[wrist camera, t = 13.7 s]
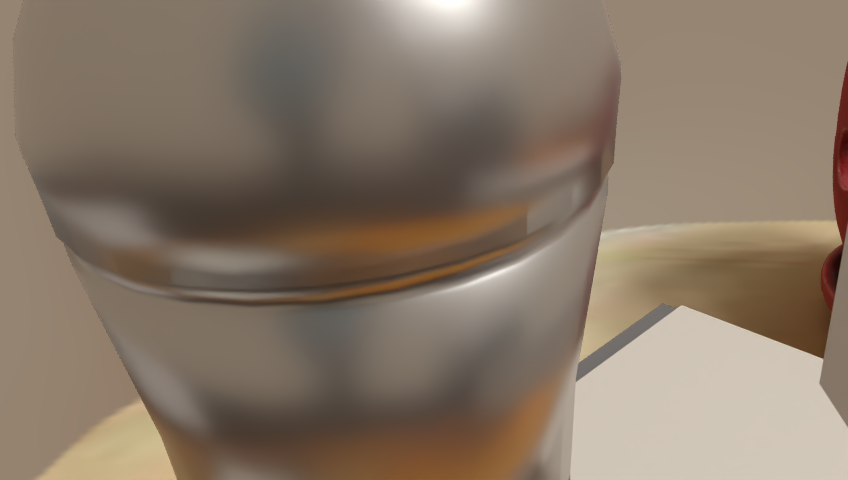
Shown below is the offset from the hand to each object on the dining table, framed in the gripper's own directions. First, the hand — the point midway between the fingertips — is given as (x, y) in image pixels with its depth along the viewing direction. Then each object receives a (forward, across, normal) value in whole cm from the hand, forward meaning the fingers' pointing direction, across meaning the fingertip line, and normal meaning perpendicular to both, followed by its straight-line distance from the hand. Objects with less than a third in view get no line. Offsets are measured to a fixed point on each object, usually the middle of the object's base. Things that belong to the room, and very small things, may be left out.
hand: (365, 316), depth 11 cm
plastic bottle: (-1, 0, -11) cm, 11 cm away
